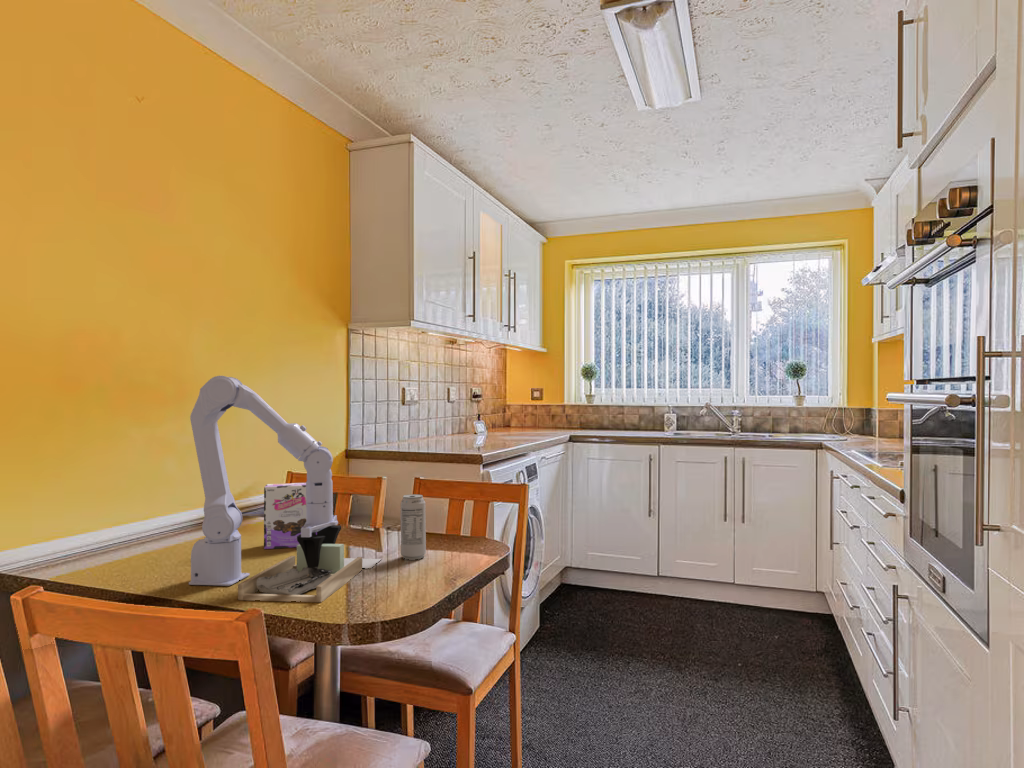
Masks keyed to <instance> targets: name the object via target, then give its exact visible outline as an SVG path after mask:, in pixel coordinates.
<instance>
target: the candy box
mask: <svg viewBox="0 0 1024 768" xmlns="http://www.w3.org/2000/svg"><path fill="white" fill-rule="evenodd" d="M263 493H264V495H263V549H264V550H271V549H272V550H273V549H285V548H286V549H287V548H297V545H299V542H298V541H297V536H298V535H300V534H301V528H303V527H304V525H305V523H306V482H291V483H267V484H265V486H264V487H263ZM316 535H317V532H316ZM317 536H318V535H317Z"/></svg>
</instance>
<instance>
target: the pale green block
mask: <svg viewBox="0 0 1024 768" xmlns="http://www.w3.org/2000/svg"><path fill="white" fill-rule="evenodd" d="M344 558H345V544H344V543H335V544H322V546H321V550H320V559H319V565H318V569H325V570H333V571H332V572H330V574H335V573H336V572H338V571H339V570H340V569H342V568H343V567H344ZM296 565H297V569H298V570H297V571H299V572H300V571H301V570H303V567H304V568H306V567H307V563H306V559H305V555H304V552H303V550H302V547H301V546H300V544H299V545H297V547H296Z"/></svg>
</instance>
